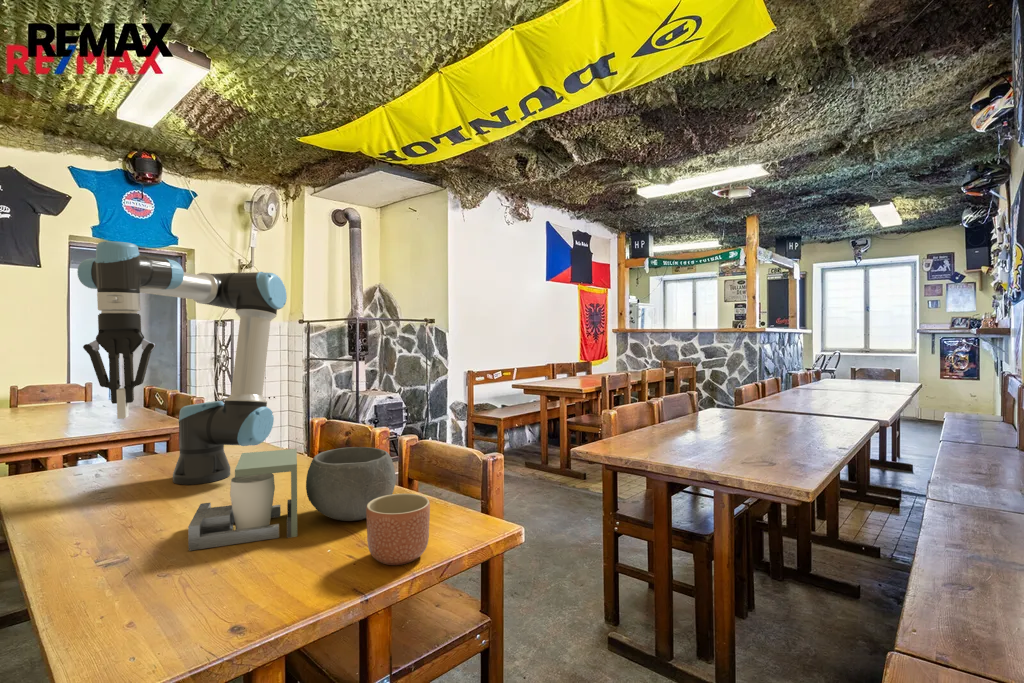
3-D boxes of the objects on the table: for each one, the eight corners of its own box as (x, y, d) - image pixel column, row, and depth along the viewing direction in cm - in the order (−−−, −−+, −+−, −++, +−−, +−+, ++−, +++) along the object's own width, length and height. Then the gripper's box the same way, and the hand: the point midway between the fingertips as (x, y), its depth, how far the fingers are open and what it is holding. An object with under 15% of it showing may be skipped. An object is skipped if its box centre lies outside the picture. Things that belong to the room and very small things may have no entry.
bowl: (291, 515, 123) (290, 454, 123) (367, 495, 139) (367, 441, 138) (333, 539, 109) (332, 470, 109) (412, 514, 124) (412, 454, 124)
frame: (200, 525, 117) (200, 503, 116) (280, 514, 123) (280, 494, 123) (188, 550, 103) (188, 526, 103) (278, 537, 110) (278, 514, 109)
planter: (352, 565, 97) (352, 509, 97) (390, 540, 109) (390, 490, 108) (408, 576, 92) (408, 517, 92) (441, 549, 104) (441, 497, 104)
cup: (255, 539, 109) (255, 484, 108) (220, 535, 111) (220, 481, 111) (283, 524, 117) (283, 473, 117) (250, 521, 120) (250, 470, 119)
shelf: (242, 519, 120) (241, 453, 120) (296, 512, 125) (296, 448, 125) (235, 545, 106) (234, 469, 105) (297, 536, 111) (297, 464, 110)
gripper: (76, 312, 106) (80, 423, 107) (151, 312, 111) (154, 418, 112) (88, 312, 112) (92, 417, 113) (158, 312, 118) (161, 412, 119)
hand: (123, 417), depth 113 cm, fingers closed
